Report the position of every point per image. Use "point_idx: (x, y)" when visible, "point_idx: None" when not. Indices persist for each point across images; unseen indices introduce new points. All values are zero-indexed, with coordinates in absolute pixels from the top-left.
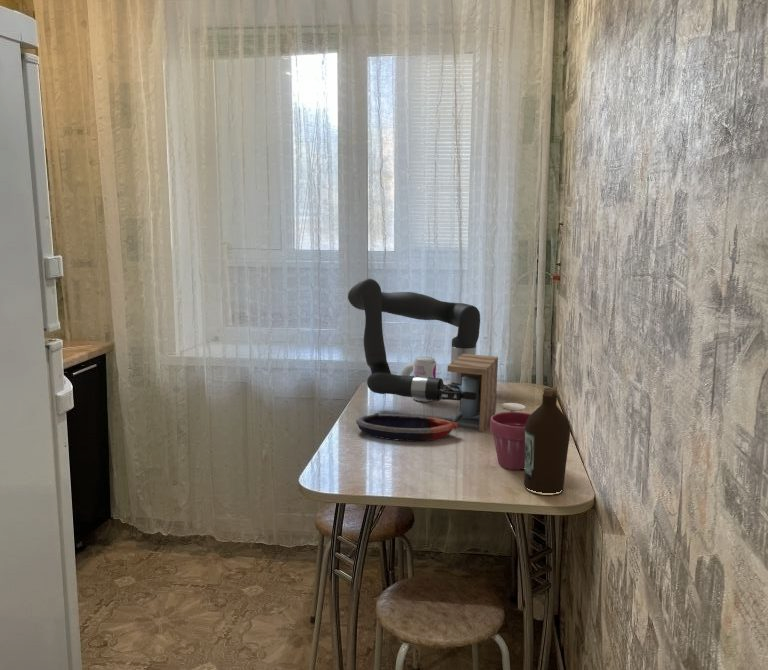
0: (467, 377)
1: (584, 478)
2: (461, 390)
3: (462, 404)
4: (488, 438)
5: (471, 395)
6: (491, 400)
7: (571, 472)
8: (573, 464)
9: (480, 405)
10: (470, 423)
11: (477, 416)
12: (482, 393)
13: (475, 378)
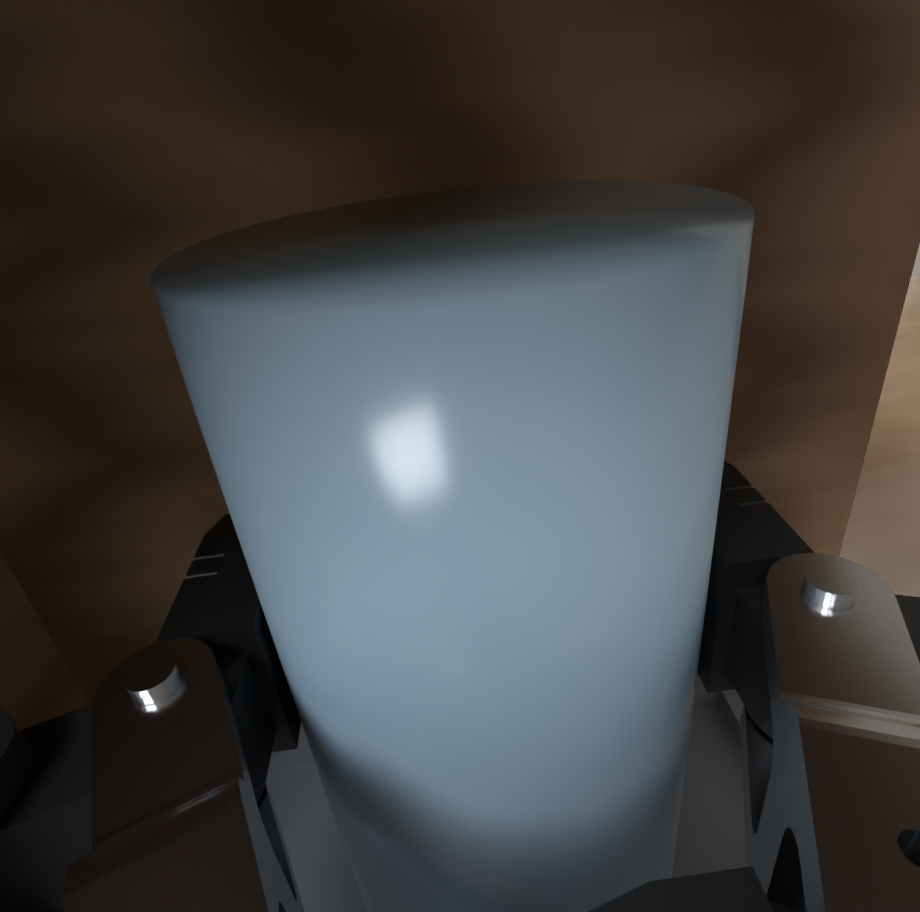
0: (397, 253)
1: (915, 280)
2: (622, 699)
3: (670, 846)
4: (892, 561)
5: (733, 484)
6: None
7: (908, 297)
8: None
9: (874, 412)
10: (682, 817)
11: (311, 850)
12: (904, 231)
13: (411, 208)
